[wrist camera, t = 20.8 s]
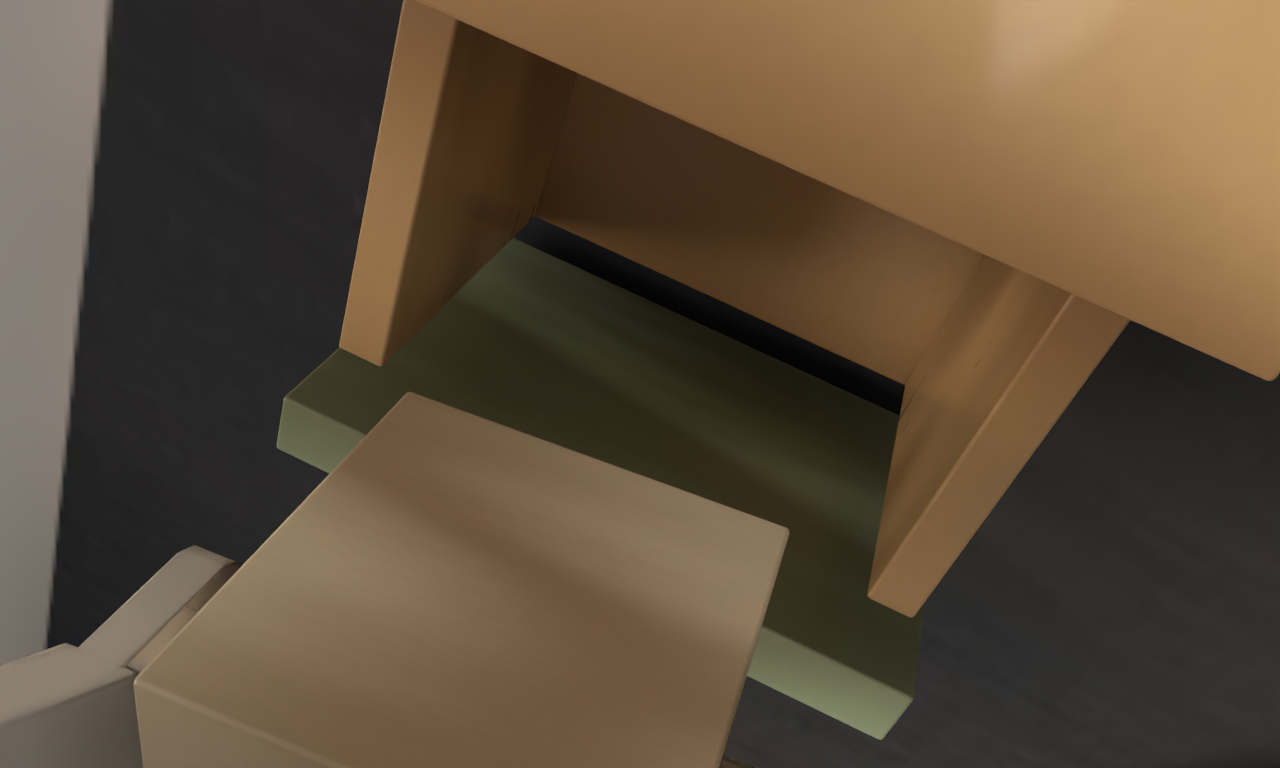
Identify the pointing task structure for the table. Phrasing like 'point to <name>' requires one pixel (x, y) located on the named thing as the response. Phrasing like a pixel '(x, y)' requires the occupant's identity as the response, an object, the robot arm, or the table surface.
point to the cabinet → (991, 128)
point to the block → (471, 616)
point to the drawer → (697, 340)
